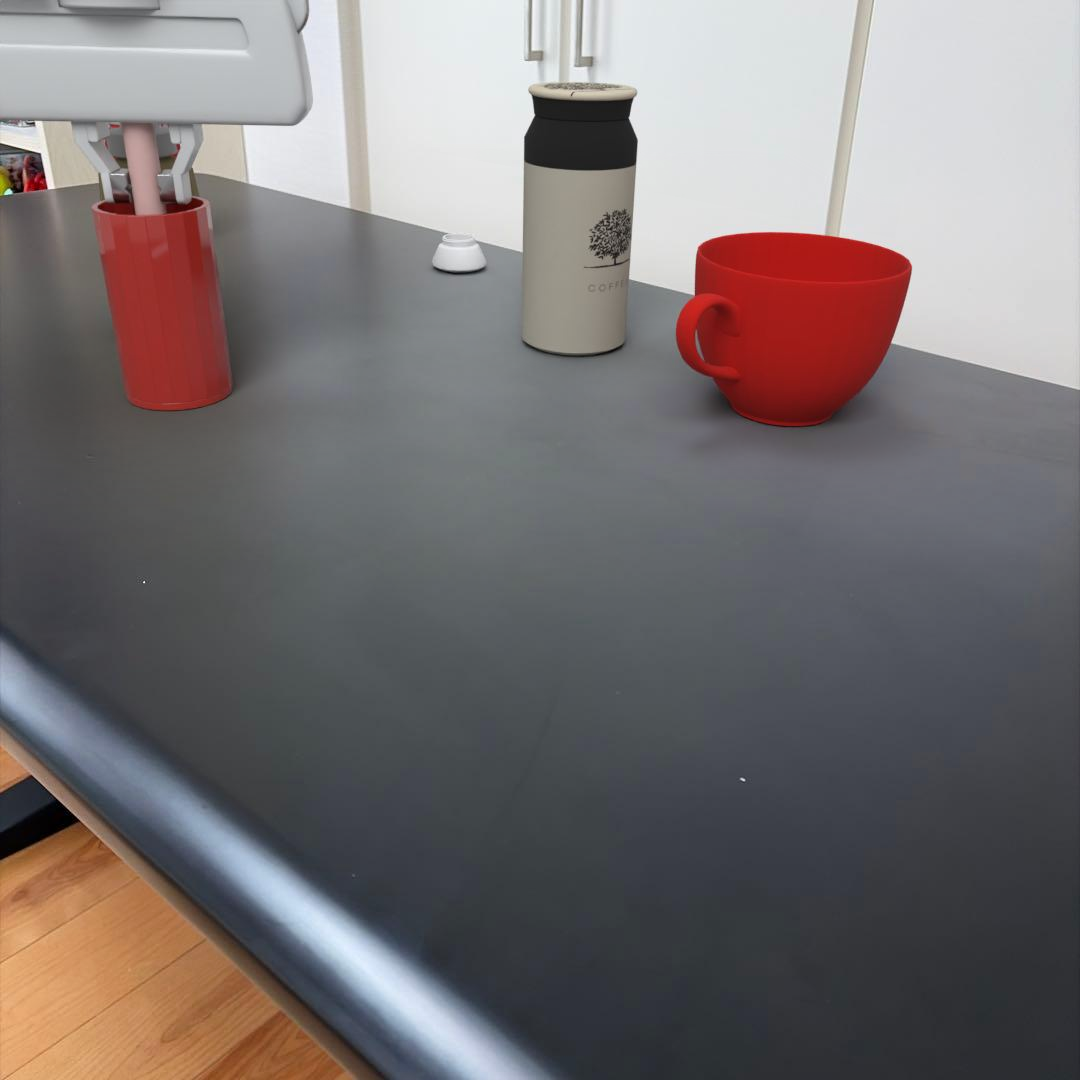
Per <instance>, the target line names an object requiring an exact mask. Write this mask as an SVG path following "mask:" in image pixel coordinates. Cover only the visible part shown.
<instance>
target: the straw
mask: <svg viewBox="0 0 1080 1080" xmlns="http://www.w3.org/2000/svg"><path fill="white" fill-rule="evenodd" d="M121 126H122V132H123V138H124V144H125V151H126V157H127V163H128V169H129V176H130V182H131V188H132V194H133V201H134V207H135V213H136V215H152V214H167V209H166V204H162V203H161V201H160V196H159V193H160V192H161V189H160V188H159V187H158V182H157V175H156V174H158V173H160V172H161V168H160V161H159V154H158V148H157V141H156V134H155V127H154V123H121Z"/></svg>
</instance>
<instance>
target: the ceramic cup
mask: <svg viewBox="0 0 1080 1080" xmlns="http://www.w3.org/2000/svg"><path fill="white" fill-rule="evenodd" d="M694 267H695V268H694V297H693V296H692V298H690V299H689V300H688V301H686V303H685V304H684V306H683V307H682V308H681V311H680V312H679V315H678V317H677V320H676V325H675V340H676V346H677V349H678V352H679V354H680V357H681V358H682V360H683V361H684V363H685V364H686V365H687V366H689V367H690V368H691V370H693V371H695V372H696V373H698V374H700V375H703V376H705V377H708V378H712V380H713V381H714V383H715V385H716V386H717V388H718V389H719V390H720V392H721V393H722V395H723V396H724V397H725V398H726V400H728V401H729V404H730V406H731V408H732V409H733V411H735V412H736V413H737V414H739V415H740V416H742V417H745V418H747V419H750V420H752V421H755V422H758V423H759V422H760V423H763V424H768V425H773V426H782V427H805V426H806V427H807V426H812V425H814V426H815V425H817V424H823V423H824V422H826V421H828V420H829V419H831V417H832V416H833V414H834V413H836V412H838V411H839V410H840V409H842V408H843V407H844V406H845V405H847V404H848V403H849V402H850V401H852V400H853V398H855V397H856V396H857V395H859V393H860V392H861V391H862V390H863V389H864V388H865V387H866V386H867V385H868V384H869V382H870V381H871V380H872V379H873V377H874V376H875V374H876V373H877V371H878V370H879V369H880V367H881V365H882V363H883V361H884V360H885V357H886V356H887V353H888V352H889V349H890V347H891V344H892V341H893V339H894V336H895V334H896V330H897V328H898V325H899V322H900V318H901V315H902V312H903V309H904V305H905V301H906V298H907V294H908V291H909V288H910V287H909V286H910V283H911V279H912V272H913V265H912V263H911V261H910V259H909V258H907V257H906V256H904V255H903V254H901V253H899V252H897V251H895V250H894V249H890V248H888V247H884V246H882V245H877V244H875V243H870V242H867V241H863V240H857V239H853V238H847V237H840V236H834V235H827V234H817V233H807V232H806V233H804V232H789V231H788V232H786V231H760V232H758V231H757V232H741V233H734V234H725V235H721V236H716V237H713V238H709V239H707V240H705V241H703V242H702V243H700V244H699V245H698V246H697V250H696V254H695V265H694ZM696 336H697V341H698V345H699V350H700V353H701V355H700V353H699V350H698V347H697V342H696Z"/></svg>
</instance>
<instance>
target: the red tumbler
mask: <svg viewBox="0 0 1080 1080" xmlns="http://www.w3.org/2000/svg"><path fill="white" fill-rule="evenodd" d="M166 209H167V214H152V215H136V213H135V207H134V203H116V204H113V203H107V202H106V200H103V201H100V200H99V201H97V202H95V203H94V204H92V205H91V212H92V216H93V222H94V229H95V235H96V239H97V245H98V250H99V255H100V262H101V267H102V272H103V277H104V284H105V288H106V295H107V299H108V305H109V311H110V316H111V321H112V322H111V323H112V327H113V333H114V339H115V344H116V349H117V350H116V351H117V355H118V360H119V366H120V371H121V376H122V383H123V387H124V393H125V397H126V400H127V401H128V403H130V404H131V405H133V406H135V407H138V408H141V409H146V410H153V411H168V412H169V411H183V410H191V409H197V408H201V407H205V406H209V405H212V404H215V403H217V402H218V403H219V402H221V401H222V400H225V399H226V398H227V397H228V396H229V395H231V393H232V392H233V389H234V385H233V375H232V367H231V359H230V352H229V343H228V337H227V336H228V335H227V328H226V320H225V313H224V306H223V305H224V304H223V297H222V289H221V288H222V287H221V282H220V273H219V267H218V265H219V264H218V258H217V250H216V242H215V233H214V226H213V219H212V210H211V204H210V202H209V200H208V199H205V198H203V197H200V196H199V197H196V196H192V198H191V202H189V203H188V204H187V205H184V204H166Z"/></svg>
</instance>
